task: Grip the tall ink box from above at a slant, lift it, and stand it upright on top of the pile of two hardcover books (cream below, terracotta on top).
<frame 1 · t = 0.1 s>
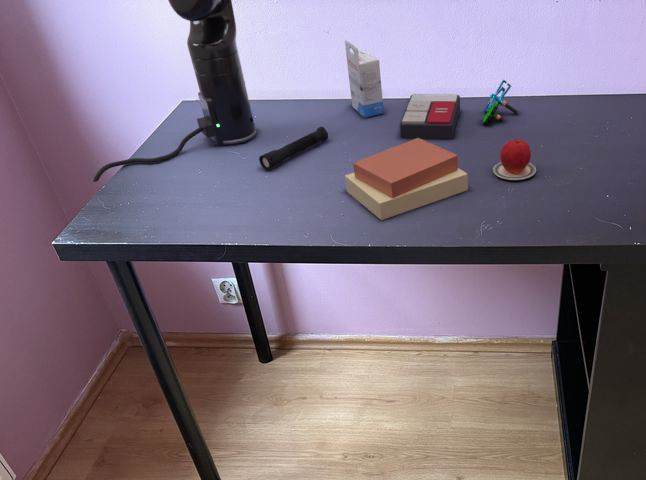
book stack: (406, 190, 120), on the table
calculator: (431, 125, 143), on the table
flashlight: (296, 155, 134), on the table
stick construction toy: (499, 117, 144), on the table
apple: (514, 173, 124), on the table
ink box: (368, 110, 150), on the table
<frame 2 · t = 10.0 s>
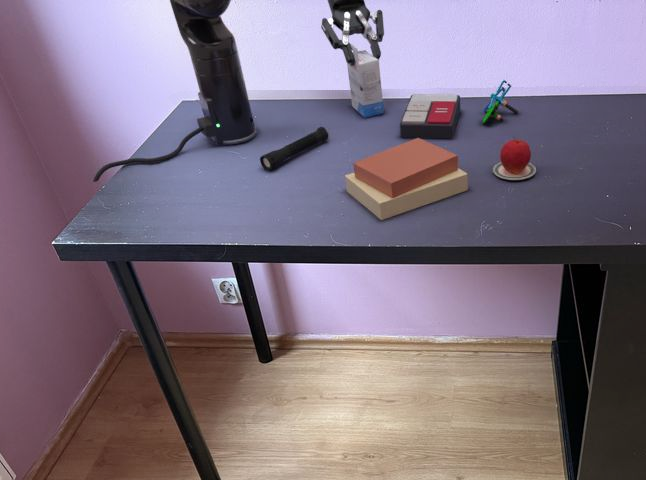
hand: (365, 61, 142), 11 cm above the table, tool tilted 45°, fingers closed on ink box, 5 cm apart
ink box: (368, 110, 150), on the table, touching gripper
everything else where it was.
when the fingers open (17 cm above the table, at t = 21.0 s): ink box stays where it is, resting on book stack.
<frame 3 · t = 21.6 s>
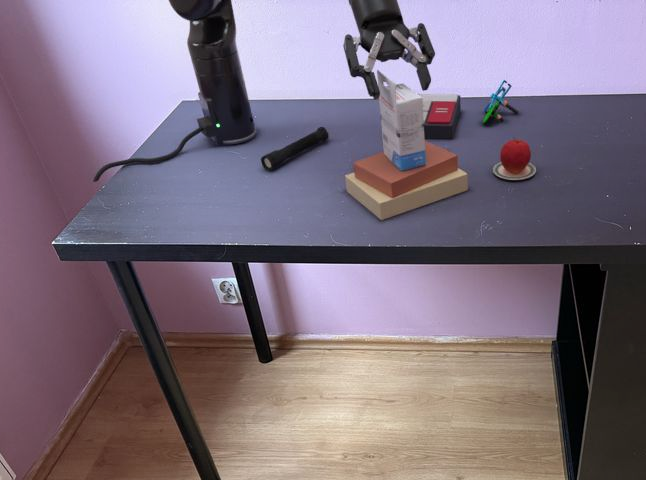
hand: (402, 92, 107), 18 cm above the table, tool tilted 45°, fingers open, 8 cm apart
ink box: (404, 160, 116), point 6 cm above the table, touching book stack
everything else where it was.
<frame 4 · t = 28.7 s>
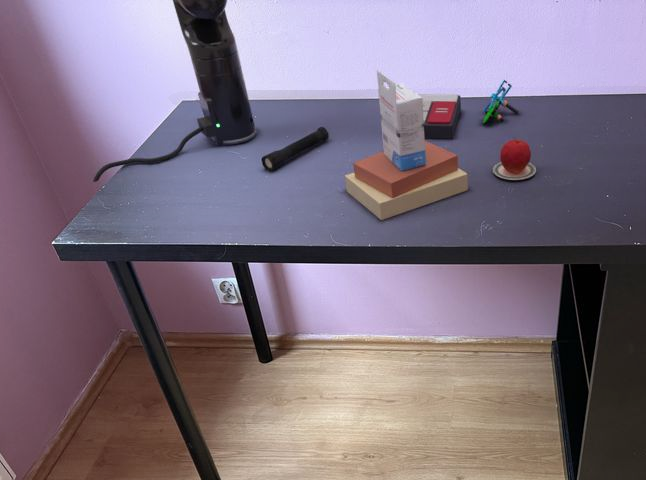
nothing on the table moved.
at the end: ink box inside the target area on the book stack (0.1 cm from its centre), point 5.8 cm above the book stack's base; ink box tilted 0°; the gripper is holding nothing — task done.
